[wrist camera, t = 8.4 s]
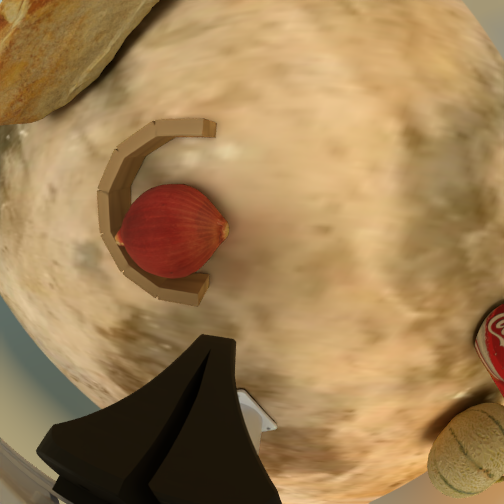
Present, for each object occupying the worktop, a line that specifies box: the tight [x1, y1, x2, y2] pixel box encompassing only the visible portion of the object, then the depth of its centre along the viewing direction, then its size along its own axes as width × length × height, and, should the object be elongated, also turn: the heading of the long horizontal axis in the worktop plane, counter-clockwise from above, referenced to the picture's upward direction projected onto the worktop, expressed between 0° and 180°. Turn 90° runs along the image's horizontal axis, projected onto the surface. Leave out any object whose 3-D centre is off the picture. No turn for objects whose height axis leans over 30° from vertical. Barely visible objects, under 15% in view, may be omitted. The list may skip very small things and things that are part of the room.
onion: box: [115, 184, 229, 279], centre depth 17 cm, size 6×6×8 cm
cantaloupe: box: [427, 402, 504, 498], centre depth 18 cm, size 15×15×15 cm
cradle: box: [97, 119, 216, 306], centre depth 18 cm, size 8×12×3 cm, turn 175°
